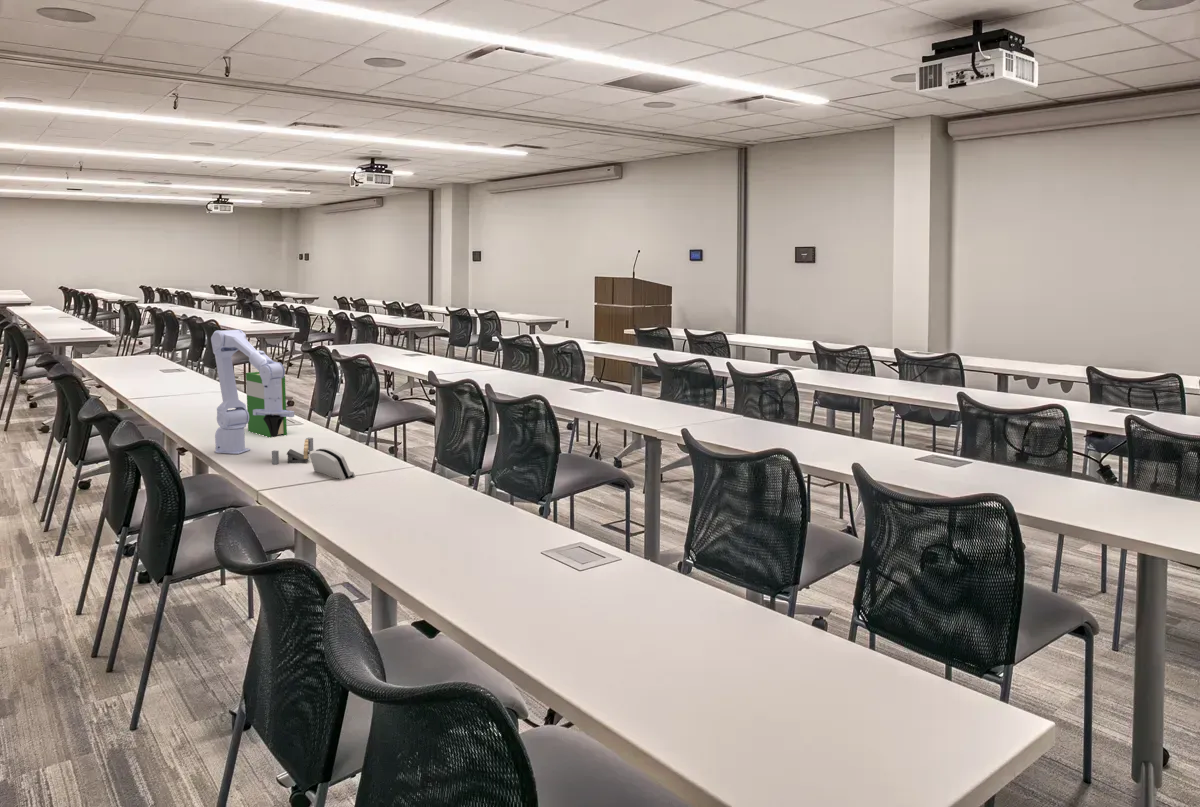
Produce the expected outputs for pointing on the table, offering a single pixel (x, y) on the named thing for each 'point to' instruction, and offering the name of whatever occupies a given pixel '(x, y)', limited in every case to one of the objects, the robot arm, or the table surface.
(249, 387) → the hardback book
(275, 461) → the pair of grey posts
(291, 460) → the wedge
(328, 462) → the grey arched piece
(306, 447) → the gate
